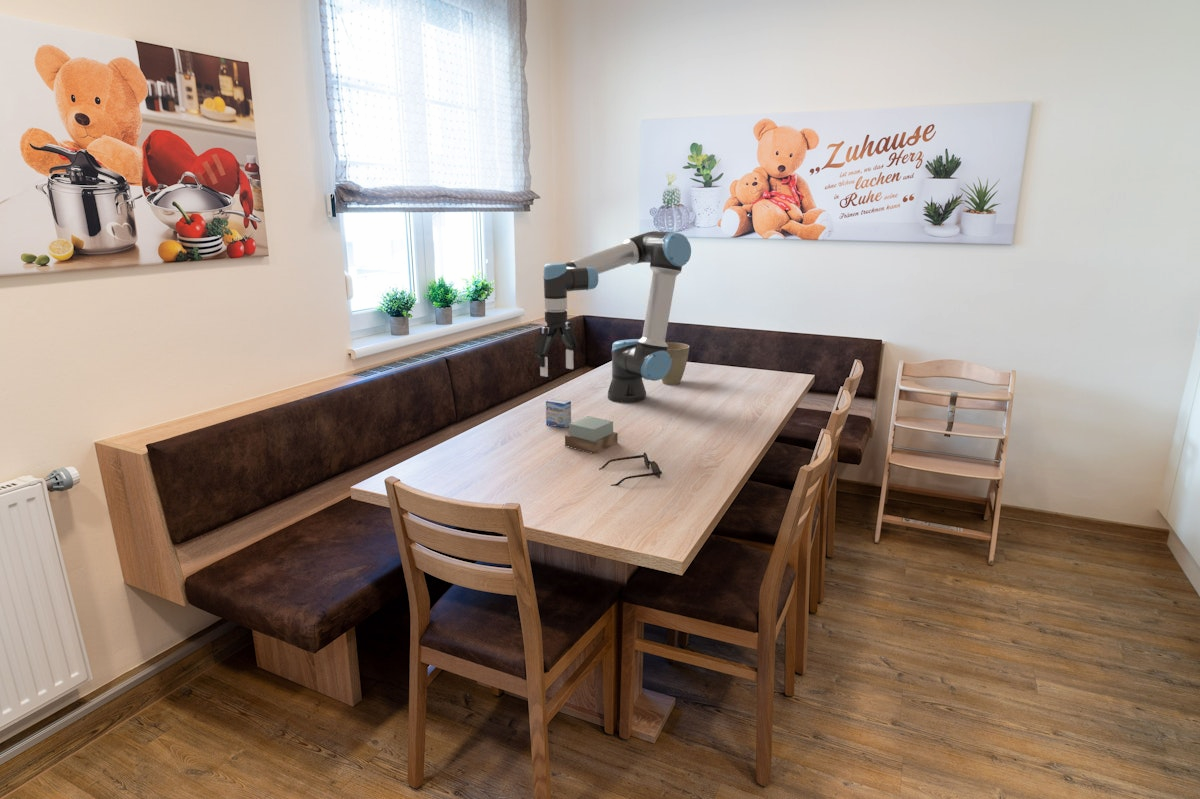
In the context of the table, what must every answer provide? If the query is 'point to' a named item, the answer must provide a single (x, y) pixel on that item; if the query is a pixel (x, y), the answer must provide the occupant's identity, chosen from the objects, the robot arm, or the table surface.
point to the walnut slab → (591, 443)
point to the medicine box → (558, 412)
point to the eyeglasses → (654, 465)
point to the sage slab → (591, 428)
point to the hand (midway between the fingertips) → (557, 372)
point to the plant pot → (676, 362)
